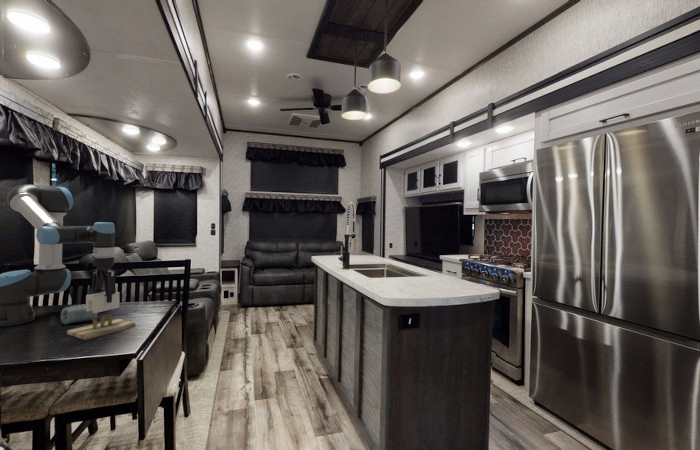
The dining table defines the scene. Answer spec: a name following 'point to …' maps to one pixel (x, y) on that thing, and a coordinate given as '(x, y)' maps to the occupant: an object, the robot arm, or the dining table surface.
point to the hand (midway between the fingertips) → (103, 308)
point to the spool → (76, 314)
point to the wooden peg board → (100, 328)
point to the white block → (100, 302)
